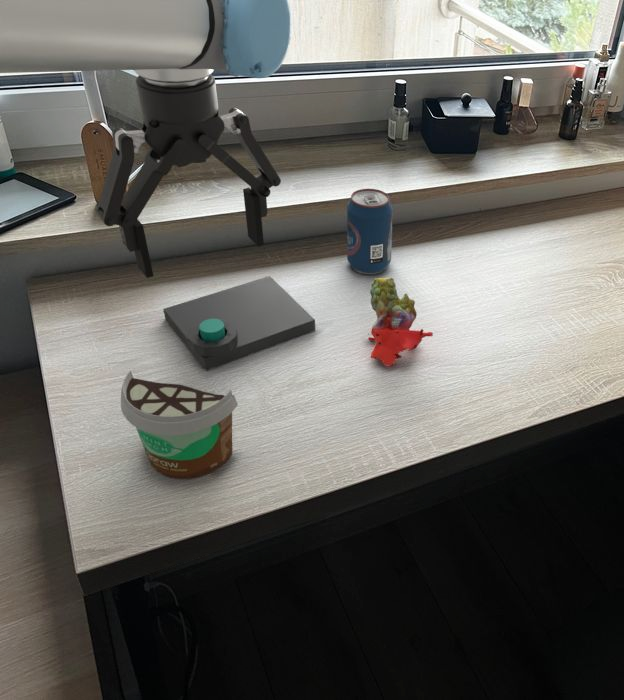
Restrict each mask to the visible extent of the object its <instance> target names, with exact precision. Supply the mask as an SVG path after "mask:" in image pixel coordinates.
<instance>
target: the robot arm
mask: <svg viewBox="0 0 624 700" xmlns="http://www.w3.org/2000/svg"><path fill="white" fill-rule="evenodd" d="M291 28H292V14H291V9H290V3H289V0H0V74H17V73H18V74H19V73H20V74H21V73H55V72H57V73H58V72H95V71H96V72H97V71H98V72H99V71H100V72H101V71H134V73H135V74H136V75H138V76H137V77H136V79H135V84H136V90H137V94H138V100H139V105H140V110H141V115H142V120H143V121H142V122H143V123H142V127H141V129H137V130H124V128H123V127H120V126H118V127H115V128H113V129H112V132H111V135H112V145H113V150H112V154H111V158H110V161H109V164H108V168H107V171H106V175H105V178H104V182H103V186H102V188H101V193H100V196H99V199H98V203H97V206H96V210H95V214H96V215H97V216H98V218H99V219H100V220H101V221H102V222H103V224H104V225H105V226H107V227H113V226H118V227H119V232H120V237H121V240H122V244H123V245H124V246H125V248H127V250H128V251H129V252H130V253H132V252H134V256H135V260H136V264H137V268H138V269H139V270H140V271H141V273H142V274H143V275H144V276H145V277H146V279H148V278H152V277H154V272H153V267H152V262H151V256H150V252H149V246H148V243H147V242H148V241H147V237H146V233H145V228H144V224H142V222H141V221H140V220H139V217H140V215H141V214H142V212H143V211H144V209H145V207H146V206H147V204H148V202H149V200H150V199H151V197H152V196H153V195H154V192H155V190H156V189H157V187H158V186H159V185H160V183H161V181H162V180H163V177H165V176H168V175H169V173H170V171H171V170H172V168H173V166H175V167H176V168H182V167H183V168H184V167H187V166H188V165H191V164H202V163H207V160H208V159H209V158H211V156H213V157H214V158H216V159H217V160H218V161H219V162H220V163H222V164H223V165H224V166H225V167H227V168H228V169H229V170H230V171H231V172H232V173H233V174H235V175H236V176H238V177H239V178H240V179H241V180H242V181H243V182H244V183H246V184H247V185H248V186H249V187H245V188H243V190H242V193H243V201H244V210H245V212H244V213H245V222H246V230H247V238H249V239H250V240H251V241H252V242H253V243H254V244H255V245H256V246H257V247H261V246H264V245H265V241H264V231H263V229H264V228H263V219H262V218H265V217H267V216H268V201H267V198H268V197H270V195H271V188H272V187H278V186H280V184H281V182H282V179H281V177H280V176H279V174H278V173H277V171H276V170H275V168H274V167H273V165H272V163H271V162H270V160H269V158H268V157H267V155H266V153H265V152H264V151H263V149H262V147H261V146H260V144H259V142H258V140H257V139H256V138H255V136H254V135H253V133H252V128H251V124H250V119H249V116H248V115H247V114H245V113H243V112H242V111H241V110H240V109H238V108H237V107H231V108H230V109H229V110H228V113H226V114H222V115H220V114H219V113H220V112H219V100H218V93H217V84H216V79H215V76H213V75H212V73H213V72H214V71H217V72H218V71H219V72H223V73H226V74H229V76H232V77H236V78H237V77H247V78H252V79H253V78H254V79H266V78H268V77H271V76H272V75H273V74H274V73H275V72H277V71H278V70H279V69H280V68H281V66H282V64H283V63H284V61H285V60H286V57H287V53H288V52H289V47H290V43H291V32H292V31H291V30H292V29H291ZM225 129H227V130H228V131H229V132H230V133H232V135H235V137H236V139H237V140H238V141H239V143H240V144H241V146H242V147H243V149H244V151H245V153H246V154H247V155H248V157H249V158H250V160H251V161H252V163H253V164H254V166H255V167H256V169H257V171H258V172H259V173H260V175H258V176H255V175H254V174H253V173H252V172H250V171H249V170H248V169H247V168H245V166H243V165H242V164H241V163H240V162H239V161H237V159H235V158H234V157H233V156H232V155H231V154H230V153H228V152H227V151H226V150H225V149H223V147H222V146H220V145H219V141H220V139H221V137H222V136H223V134H224V132H225ZM144 143H146V144H147V146H149V147H150V148H149V149H148V151H147V152H146V154H145V156H144V162H143V165H142V166H141V167H140V169H139V171H138V172H137V174H136V175H135V177H134V179H133V181H132V182H131V184H130V186H129V187H128V189H127V186H128V183H129V180H130V177H131V173H132V170H133V166H134V164H135V154H138V153H139V152H140V148H141V145H142V144H144ZM126 189H127V191H126Z"/></svg>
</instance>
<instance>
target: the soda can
mask: <svg viewBox="0 0 624 700" xmlns="http://www.w3.org/2000/svg"><path fill="white" fill-rule="evenodd" d="M393 213H394V208H393V204H392V203H391V201H390V196H389V195H388V193H386V192H385V191H382V190H381V189H376V188H361V189H357V190H355V191H354V192H352V193H351V195H350V199H349V201H348V203H347V205H346V245H347V246H346V253H347V254H346V259H347V262H348V263H349V265H350V266H351V267H352V269H353V270H354V271H356V272H358V273H359V274H362V275H376V274H380V273H383V272H384V271H385V270H386V269H387V267H388V266H390V263H391V261H392V247H393V246H392V244H393V217H394V216H393V215H394V214H393Z"/></svg>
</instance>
